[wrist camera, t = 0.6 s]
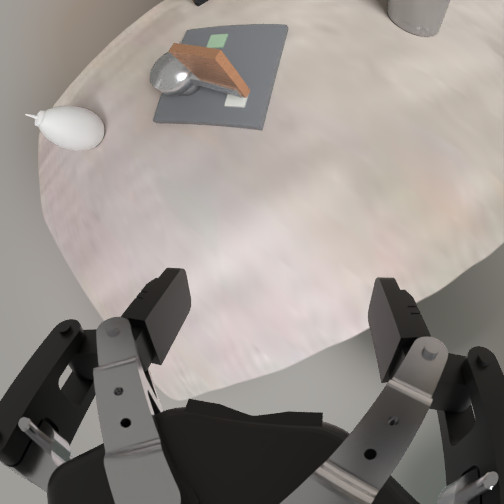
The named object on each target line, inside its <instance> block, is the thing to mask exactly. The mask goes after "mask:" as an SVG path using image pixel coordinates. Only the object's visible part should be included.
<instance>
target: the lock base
mask: <svg viewBox="0 0 504 504" xmlns="http://www.w3.org/2000/svg"><path fill="white" fill-rule="evenodd" d="M287 32H288V27H287V25H279V24H251V25H230V26H218V27H208V28H199V29H192V30H187V31H186V34H185V36H184V38H183V40H182V43H181V44H187V45H194V46H201V47H208V48H214V49H220V50H221V51H222V52H223V53H224V55H225V56H226V57H227V59H228V60H229V61H230V63H231V64H232V65H233V67H234V68H235V69H236V71H237V72H238V74H239V75H240V76H241V78H242V79H243V80H244V82H245V83H246V85H247V86H248V88H249V89H250V90H251V91H250V93H249V94H248V96H247V98H244V97H243V98H240V97H237V96H233V95H230V94H227V93H223V92H220V91H217V90H213V89H210V88H206V87H202V86H198V85H193V86H192V87H191V88H190V89H189V90H187V91H186V92H184V93H182V94H179V95H176V96H168V95H165V94H164V93H162V94H161V97H160V100H159V103H158V106H157V109H156V113H155V116H154V119H153V121H154V122H156V123H176V124H199V125H214V126H227V127H237V128H247V129H255V130H263V125H264V121H265V117H266V113H267V109H268V105H269V101H270V97H271V93H272V89H273V86H274V82H275V78H276V74H277V70H278V66H279V62H280V58H281V55H282V51H283V47H284V43H285V39H286V36H287Z"/></svg>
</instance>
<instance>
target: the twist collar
mask: <svg viewBox="0 0 504 504" xmlns="http://www.w3.org/2000/svg"><path fill="white" fill-rule="evenodd" d="M150 82H151V84H152V86H154V87H155V88H156V89H158V90H159V91H161V92H162V93H164V94H165V95H168V96H176V95H179V94H182V93H184V92H186V91H187V90H189V89H190V88H191V87H192V86H193V85H198V86H202V87H206V88H210V89H213V90H217V91H220V92H223V93H227V94H230V95H233V96H237V97H240V98H243V97H244V98H247V96H248V94H249V93H250V91H251V90H250V89H249V88H248V86H247V85H246V83H245V82H244V80H243V79H242V78H241V76H240V75H239V74H238V72H237V71H236V69H235V68H234V67H233V65H232V64H231V63H230V61H229V60H228V59H227V57H226V56H225V55H224V53H223V52H222V51H221V50H220V49H214V48H208V47H201V46H194V45H187V44H178V43H174V44H173V45H172V47H171V48H170V50H169V52H167V53H166V54H164V55H163V56H162V57H161V58H159V59H158V60H157V62H156V63H155V64H154V66H153V68H152V70H151V73H150Z"/></svg>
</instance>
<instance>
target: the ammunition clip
mask: <svg viewBox="0 0 504 504" xmlns="http://www.w3.org/2000/svg"><path fill="white" fill-rule="evenodd" d="M206 1H208V0H193V2H194V3H195V4H196V5H197V6H200V5H201V4H203V3H205V2H206Z"/></svg>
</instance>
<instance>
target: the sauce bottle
mask: <svg viewBox="0 0 504 504" xmlns="http://www.w3.org/2000/svg"><path fill="white" fill-rule="evenodd" d="M26 116H29V117H32V118H35V125H36V126H39V129H40V131H41V132H42V133H43V134H44V136H45V137H46V138H47V139H49V140H50V141H51V142H52V143H54V144H56V145H57V146H59V147H62V148H64V149H67V150H72V151H85V150H89V149H92V148H94V147H96V146H97V145H98V144H99V143H100V142H101V141H102V139H103V137H104V124H103V122H102V121H101V119H100V118H99V117H98V116H97V115H96V114H95V113H93V112H92V111H90V110H88V109H85V108H82V107H77V106H59V107H54V108H51V109H48V110H46V111H39V112H38V114H37V115H36V116H35V115H30V114H26Z"/></svg>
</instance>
